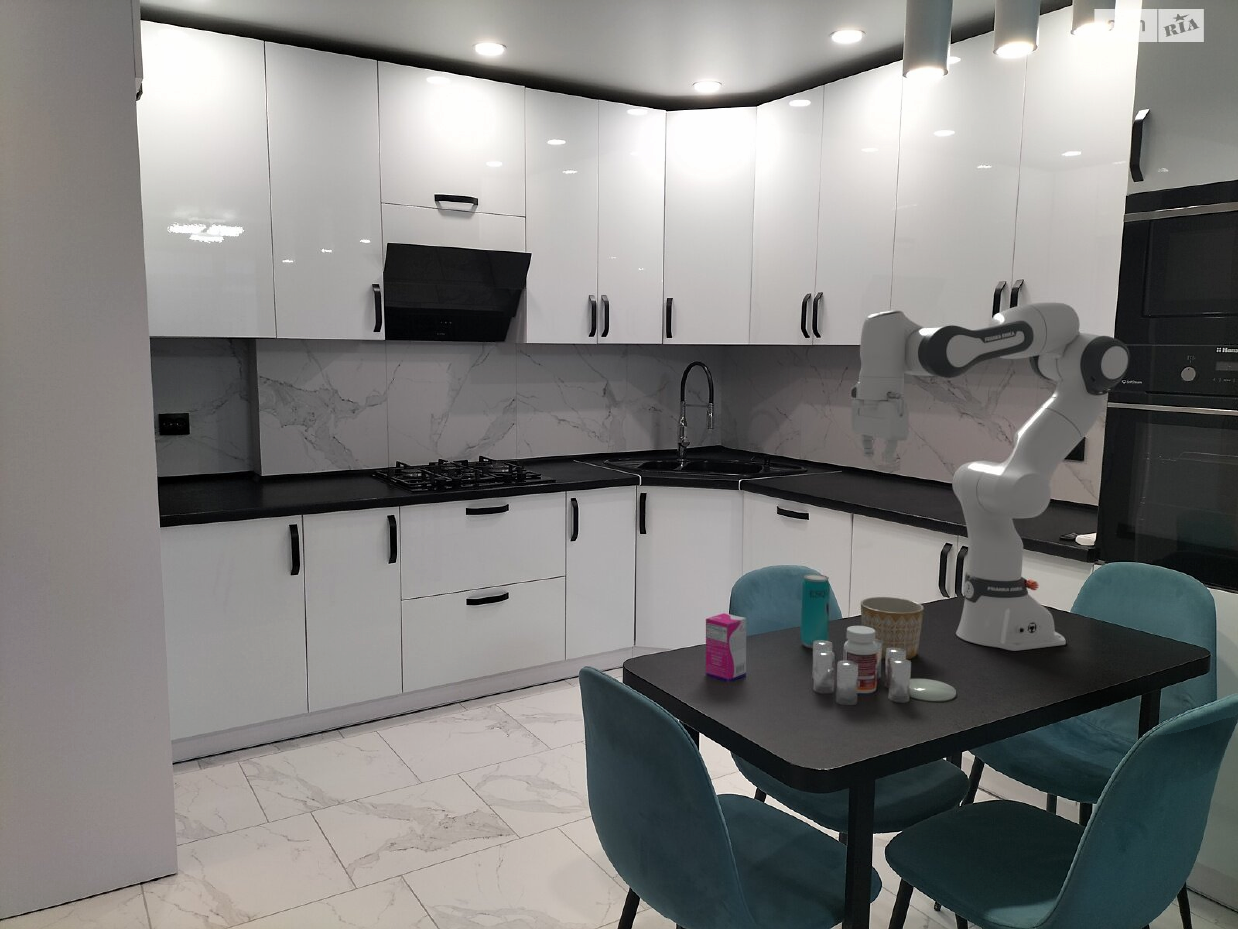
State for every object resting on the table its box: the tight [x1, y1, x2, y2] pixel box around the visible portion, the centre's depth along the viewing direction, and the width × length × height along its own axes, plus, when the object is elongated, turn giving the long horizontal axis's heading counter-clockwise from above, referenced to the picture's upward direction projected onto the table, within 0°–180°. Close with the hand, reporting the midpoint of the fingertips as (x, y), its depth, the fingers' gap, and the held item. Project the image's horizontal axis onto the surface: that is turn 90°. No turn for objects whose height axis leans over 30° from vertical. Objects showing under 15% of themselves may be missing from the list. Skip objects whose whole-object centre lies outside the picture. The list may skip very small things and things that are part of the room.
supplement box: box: [705, 612, 747, 683], centre depth 175 cm, size 6×6×12 cm
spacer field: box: [811, 639, 912, 706], centre depth 168 cm, size 18×16×7 cm
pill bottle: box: [842, 625, 878, 694], centre depth 168 cm, size 6×6×11 cm
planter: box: [860, 596, 925, 660], centre depth 189 cm, size 13×13×10 cm
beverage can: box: [800, 573, 831, 649], centre depth 194 cm, size 6×6×15 cm
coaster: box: [909, 678, 957, 702], centre depth 168 cm, size 10×10×1 cm
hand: (877, 459), depth 185 cm, fingers open, 8 cm apart
